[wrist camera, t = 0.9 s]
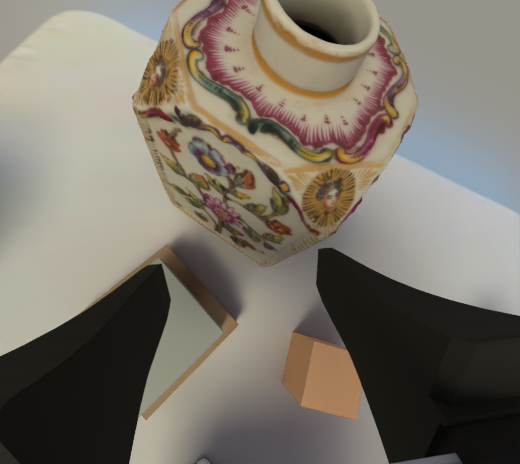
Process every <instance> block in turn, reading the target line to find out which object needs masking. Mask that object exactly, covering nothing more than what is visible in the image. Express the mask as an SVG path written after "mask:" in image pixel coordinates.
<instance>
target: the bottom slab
mask: <svg viewBox="0 0 520 464" xmlns="http://www.w3.org/2000/svg"><path fill="white" fill-rule="evenodd" d="M158 258H160V259H161V260H163V261H164V262H166V264H167V265H168V266H169V267H170V268H171V269H172V271H173V272H174V273H175V274H176V275H177V276H178V277H179V279H180V280H181V281H182V282H183V283H184V284H185V285H186V287H187V288H188V289H189V290H190V291H191V292H192V294H193V295H194V296H195V297H196V298H197V299H198V300H199V302H200V303H201V304H202V305H203V306H204V307H205V309H206V310H207V311H208V312H209V313H210V314H211V315H212V317H213V318H214V319H215V320H216V321H217V322H218V324H219V325H220V326H221V327H222V330H223V332H224V333H223V334H222V335H221V336H220V337H219V338H218V339H217V340H216V341H215V342H214V343H213V344H212V345H211V346H210V347H209V348H208V349H207V350H206V351H205V352H204V353H203V354H202V355H201V356H200V357H199V358H198V359H197V360H196V361H195V362H194V363H193V364H192V365H191V366H190V367H189V368H188V369H187V370H186V371H185V372H184V373H183V374H182V375H181V376H180V377H179V378H178V379H177V380H176V381H175V382H174V383H173V384H172V385H171V386H170V387H169V388H168V389H167V390H166V391H165V392H163V393H162V394H161V395H160V396H159V397H158V398H157V399H156V400H155V401H154V402H153V403H152V404H151V405H150V406H149V407H148V408H147V409H146V410H145V411H144V412H143V413H142V414H141V415H142V416H143V417H144V418H145V420H147V419H148V418H149V417H150V416H151V415H152V414H153V412H154V411H155V410H156V409H157V408H158V407H159V406H160V405H161V404H162V403H163V402H164V401H165V400H166V399H167V398H168V397H169V396H170V395H171V394H172V393H173V392H174V391H175V390H176V389H177V388H178V387H179V386H180V385H181V384H182V383H183V382H184V381H185V380H186V379H187V377H188V376H189V375H190V374H191V373H192V372H193V371H194V370H195V369H196V368H197V367H198V366H199V365H200V364H201V363H202V362H203V361H204V360H205V359H206V358H207V357H208V356H209V355H210V354H211V353H212V352H213V351H214V350H215V349H216V348H217V347H218V346H219V345H220V344H221V342H222V341H223V340H224V339H225V338H226V337H227V336H228V335H229V334H230V333H231V332H232V331H233V330H234V329H235V328H236V327H237V326H238V323H237V322H236V321H235V320H234V319H233V318H232V317H231V316H230V315H229V313H228V312H227V311H226V310H225V309H224V308H223V307H222V306H221V305H220V303H219V302H218V301H217V300H216V299H215V298H214V297H213V296H212V295H211V293H210V292H209V291H208V290H207V289H206V288H205V287H204V286H203V285H202V283H201V282H200V281H199V280H198V279H197V278H196V277H195V276H194V275H193V274H192V272H191V271H190V270H189V269H188V268H187V267H186V266H185V265H184V264H183V262H182V261H181V260H180V259H179V258H178V257H177V256H176V255H175V254H174V252H173V251H172V250H171V249H170V248H169V247H168V246H167V245H166V246H164V247H163V248H162V249H161V250H159V251H158V252H157V253H156V254H154V255H153V256H152V257H151V258H149V259H148V260H147V261H146V262H144V263H143V264H142V265H140V266H139V267H138V268H137V269H135V270H134V271H133V272H132V273H130V274H129V275H128V276H127V277H125V278H124V279H123V280H122V281H120V282H119V283H118V284H116V285H115V286H114V287H113V288H111V289H110V290H109V291H108V292H106V293H105V294H104V295H103V296H101V297H100V298H99V299H97V300H96V301H95V302H94V303H92V304H91V305H90V306H89V307H91V306H92V305H94V304H95V303H97V302H98V301H99V300H101V299H102V298H104V297H105V296H107V295H108V294H109V293H111V292H112V291H113V290H115V289H116V288H117V287H119V286H120V285H121V284H123V283H124V282H125V281H127V280H128V279H129V278H131V277H132V276H133V275H134V274H136V273H137V272H138V271H140V270H141V269H142V268H144V267H145V266H147V265H150V264H151V263H152V262H154V261H155V260H156V259H158ZM89 307H87V308H86V309H88V308H89ZM86 309H85V310H86ZM85 310H84V311H85ZM82 312H83V311H82ZM82 312H81V313H82Z"/></svg>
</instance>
